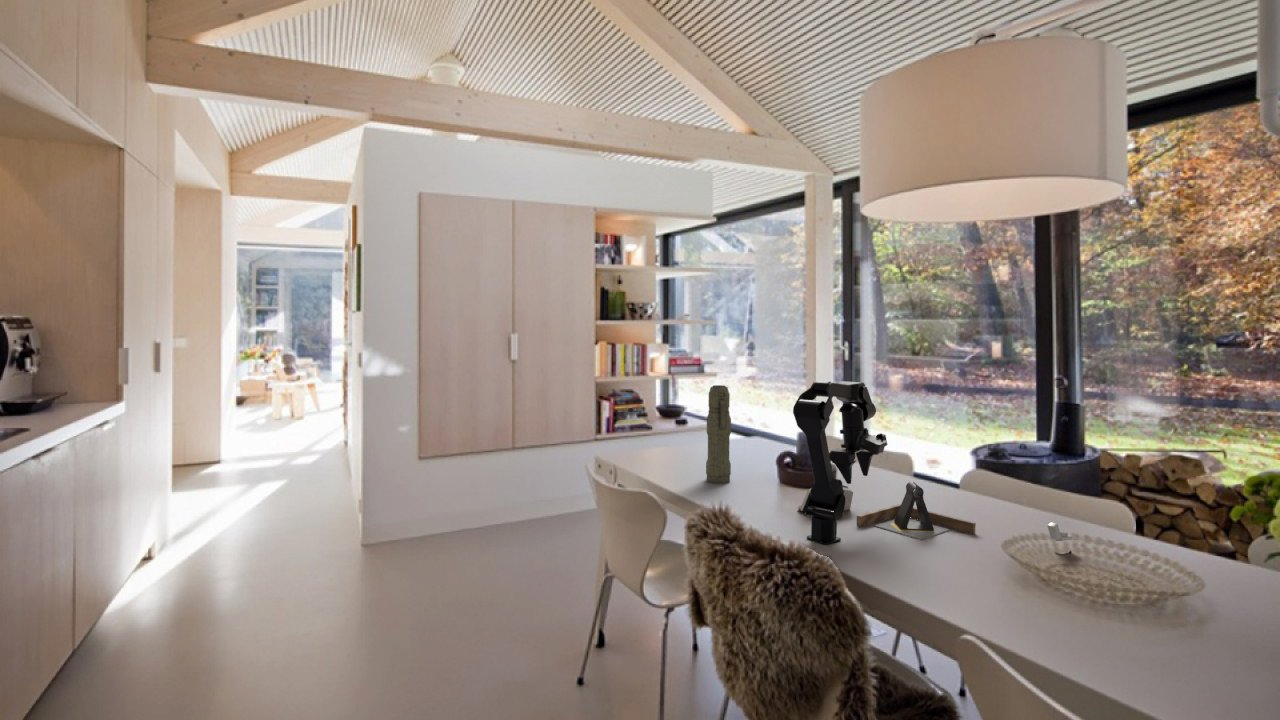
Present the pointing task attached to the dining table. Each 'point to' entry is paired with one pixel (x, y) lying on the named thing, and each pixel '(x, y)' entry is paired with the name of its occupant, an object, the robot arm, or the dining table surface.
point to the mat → (912, 533)
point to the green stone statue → (718, 435)
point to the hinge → (848, 500)
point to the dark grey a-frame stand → (907, 508)
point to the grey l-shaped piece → (1058, 533)
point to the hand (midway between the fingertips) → (857, 479)
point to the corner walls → (935, 518)
